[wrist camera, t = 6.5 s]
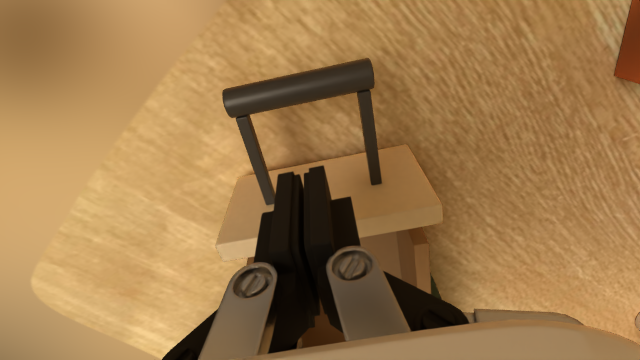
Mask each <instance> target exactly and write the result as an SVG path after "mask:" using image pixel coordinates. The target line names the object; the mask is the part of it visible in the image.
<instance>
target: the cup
mask: <svg viewBox="0 0 640 360" xmlns="http://www.w3.org/2000/svg"><path fill="white" fill-rule="evenodd" d="M635 325H636V327H637V328H638V329H639V331H640V313H639V314H638V316H637V317H636V320H635Z"/></svg>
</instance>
